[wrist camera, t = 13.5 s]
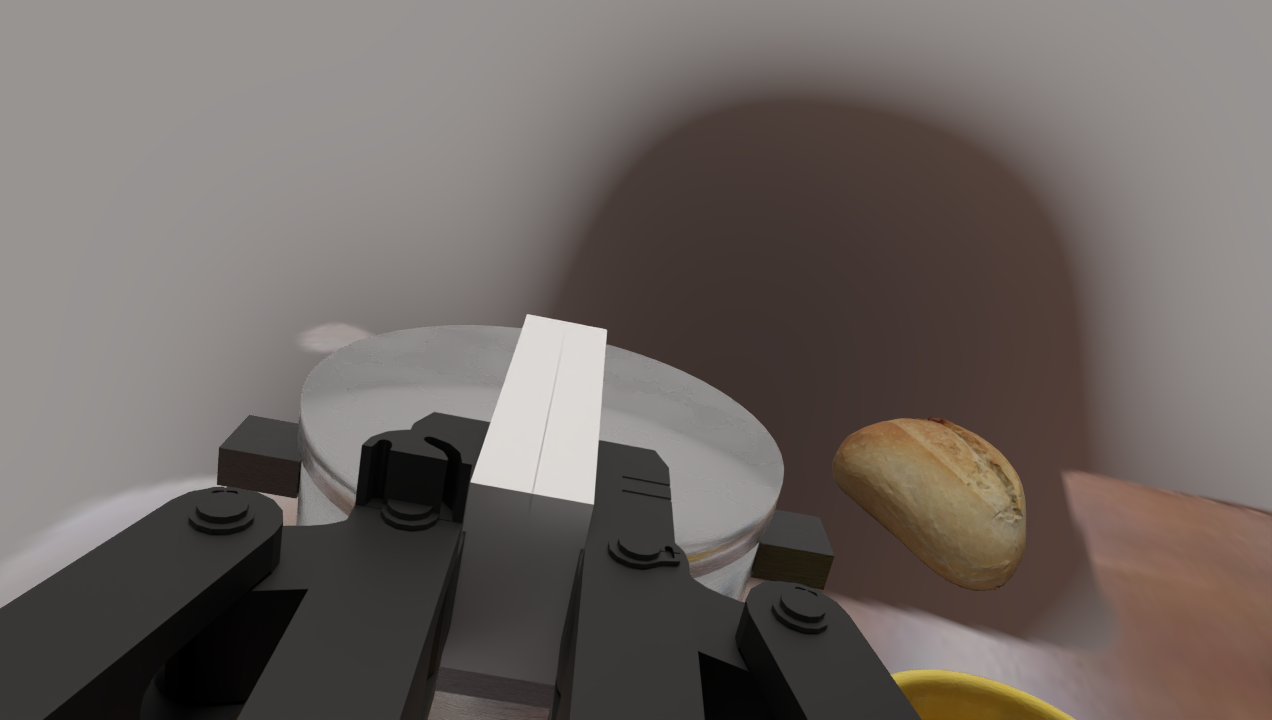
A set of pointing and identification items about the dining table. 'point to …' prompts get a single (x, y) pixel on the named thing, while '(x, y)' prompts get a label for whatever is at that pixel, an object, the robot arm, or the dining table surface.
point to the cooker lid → (630, 414)
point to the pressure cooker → (479, 703)
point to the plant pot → (970, 698)
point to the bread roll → (939, 496)
